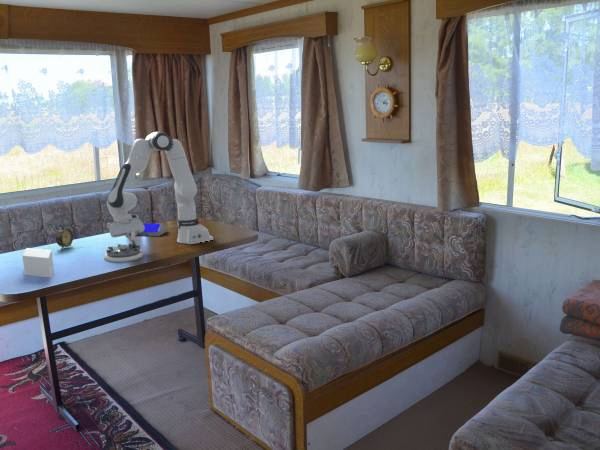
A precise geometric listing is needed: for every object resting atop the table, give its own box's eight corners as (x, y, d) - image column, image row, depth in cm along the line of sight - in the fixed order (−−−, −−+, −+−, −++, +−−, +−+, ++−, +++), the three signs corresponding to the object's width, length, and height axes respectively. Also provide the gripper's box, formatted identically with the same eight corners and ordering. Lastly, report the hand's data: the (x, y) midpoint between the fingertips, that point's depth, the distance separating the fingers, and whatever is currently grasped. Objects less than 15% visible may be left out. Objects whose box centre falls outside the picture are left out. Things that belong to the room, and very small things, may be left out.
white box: (35, 281, 267) (33, 261, 264) (14, 269, 287) (12, 250, 284) (65, 274, 277) (63, 255, 275) (42, 263, 297) (40, 245, 294)
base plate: (141, 250, 320) (140, 239, 319) (145, 259, 301) (144, 248, 299) (103, 254, 313) (102, 243, 311) (104, 263, 294) (103, 252, 292)
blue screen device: (166, 232, 367) (166, 221, 365) (158, 237, 353) (157, 226, 352) (136, 231, 370) (135, 220, 369) (126, 235, 357) (125, 225, 355)
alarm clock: (63, 250, 321) (60, 224, 317) (55, 250, 322) (52, 223, 318) (74, 246, 331) (71, 220, 328) (66, 245, 332) (63, 219, 329)
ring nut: (144, 248, 315) (142, 230, 313) (134, 257, 297) (133, 237, 295) (113, 248, 315) (111, 230, 313) (102, 257, 298) (100, 238, 295)
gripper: (107, 220, 307) (117, 240, 303) (140, 214, 321) (149, 233, 317) (104, 226, 311) (114, 246, 307) (136, 220, 326) (146, 239, 321)
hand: (132, 239), depth 312 cm, fingers closed, pressing on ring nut
